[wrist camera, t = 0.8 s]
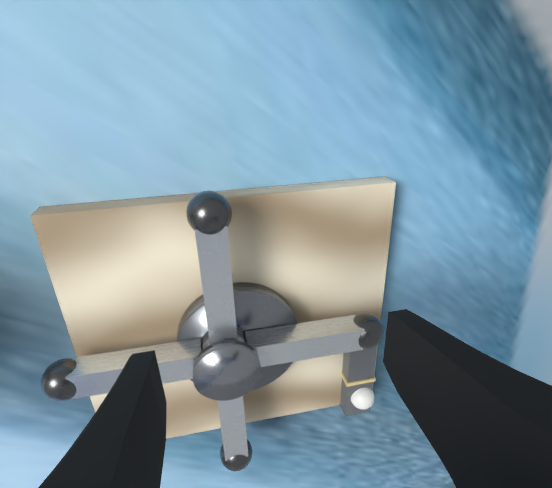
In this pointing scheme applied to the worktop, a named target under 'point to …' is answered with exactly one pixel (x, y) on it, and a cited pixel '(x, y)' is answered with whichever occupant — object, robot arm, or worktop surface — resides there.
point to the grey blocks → (358, 381)
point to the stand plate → (245, 268)
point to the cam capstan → (222, 338)
